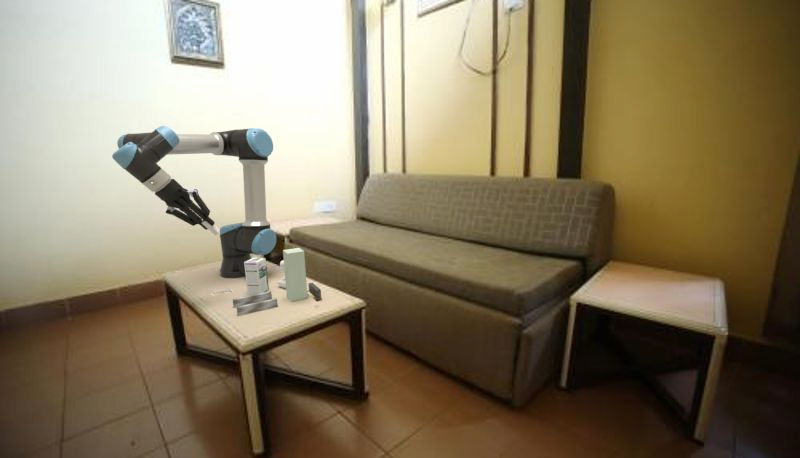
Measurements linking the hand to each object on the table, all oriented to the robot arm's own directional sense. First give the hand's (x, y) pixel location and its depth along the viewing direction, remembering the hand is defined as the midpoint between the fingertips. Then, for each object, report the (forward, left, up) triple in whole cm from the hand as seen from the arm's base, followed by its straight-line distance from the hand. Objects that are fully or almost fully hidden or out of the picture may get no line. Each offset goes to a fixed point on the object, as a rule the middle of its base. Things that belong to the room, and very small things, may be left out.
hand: (217, 232), depth 133 cm
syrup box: (-8, +9, -26) cm, 29 cm away
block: (-11, +26, -25) cm, 37 cm away
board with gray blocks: (-4, +23, -26) cm, 35 cm away
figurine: (-18, +16, -26) cm, 35 cm away
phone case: (-1, 0, -27) cm, 27 cm away
